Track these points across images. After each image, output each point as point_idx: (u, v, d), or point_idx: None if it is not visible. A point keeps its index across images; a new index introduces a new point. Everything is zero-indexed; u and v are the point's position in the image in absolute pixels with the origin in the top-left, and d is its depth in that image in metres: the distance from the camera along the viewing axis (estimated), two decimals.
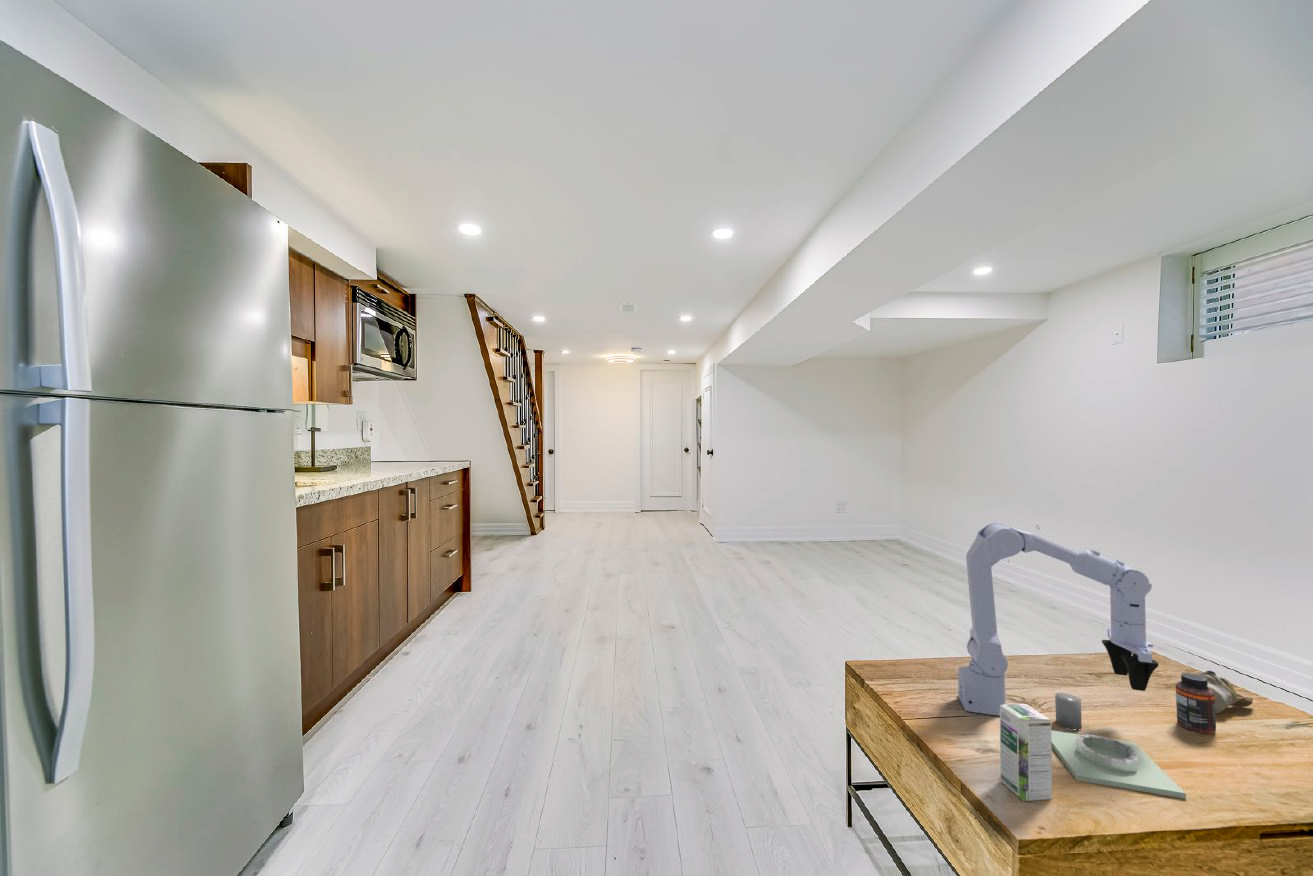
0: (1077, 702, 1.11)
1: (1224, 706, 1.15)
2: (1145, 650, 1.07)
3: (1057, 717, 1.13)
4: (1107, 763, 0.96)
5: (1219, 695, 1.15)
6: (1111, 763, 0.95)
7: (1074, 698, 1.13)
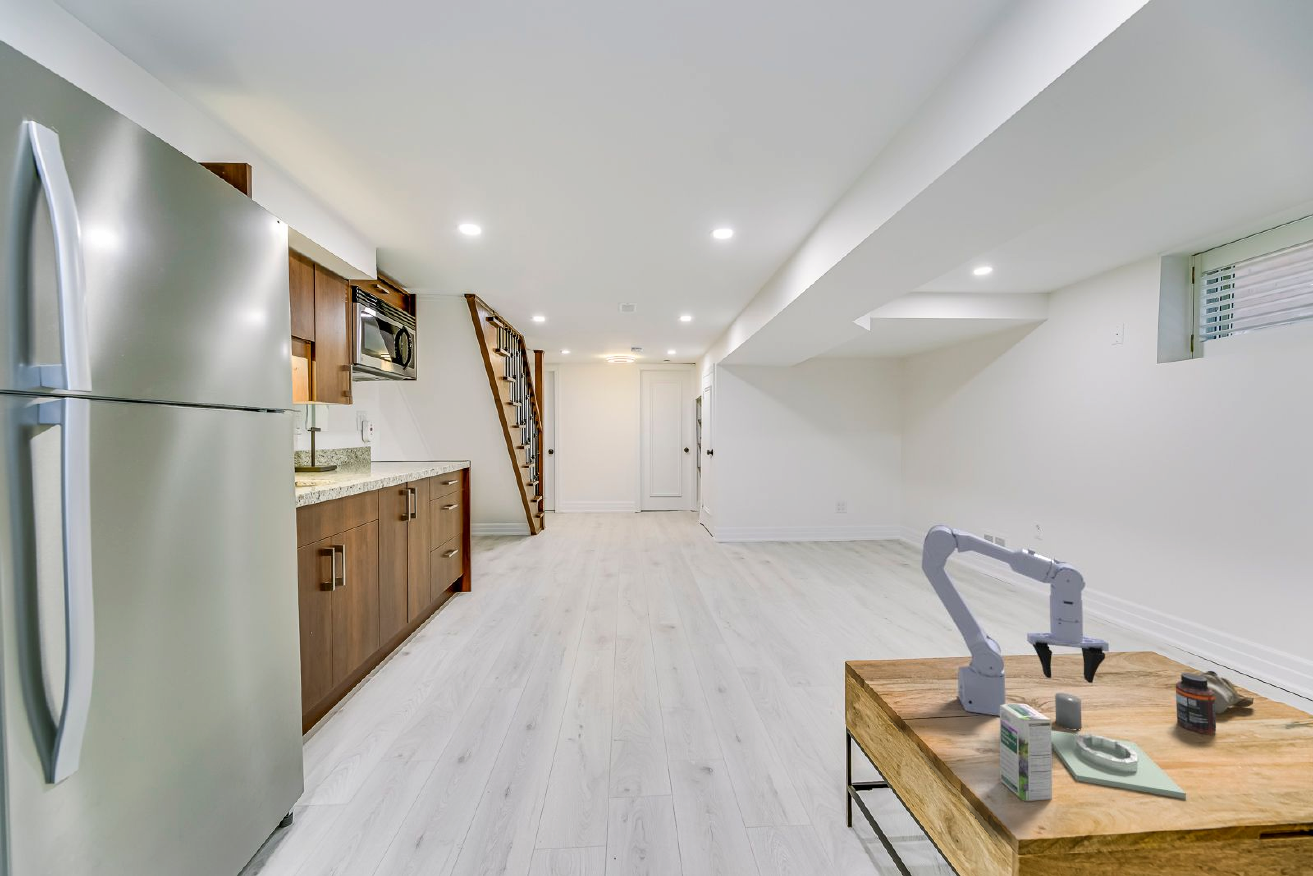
0: (1077, 702, 1.11)
1: (1226, 706, 1.15)
2: (1043, 637, 1.14)
3: (1057, 717, 1.13)
4: (1107, 763, 0.96)
5: (1221, 695, 1.15)
6: (1111, 763, 0.95)
7: (1074, 698, 1.13)
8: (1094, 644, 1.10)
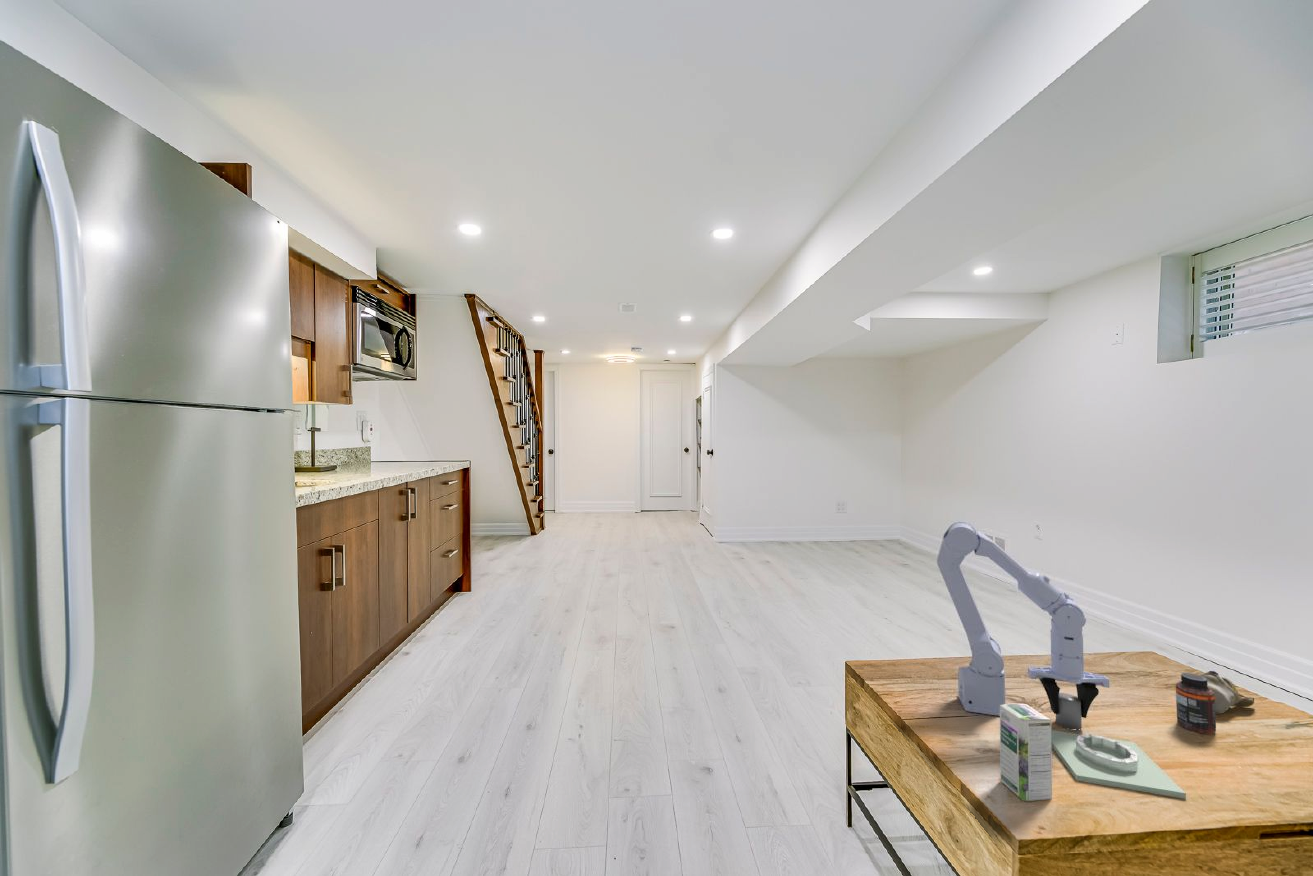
0: (1077, 702, 1.11)
1: (1227, 706, 1.15)
2: (1044, 672, 1.14)
3: (1057, 717, 1.13)
4: (1107, 763, 0.96)
5: (1222, 696, 1.15)
6: (1111, 763, 0.95)
7: (1074, 698, 1.13)
8: (1095, 680, 1.10)
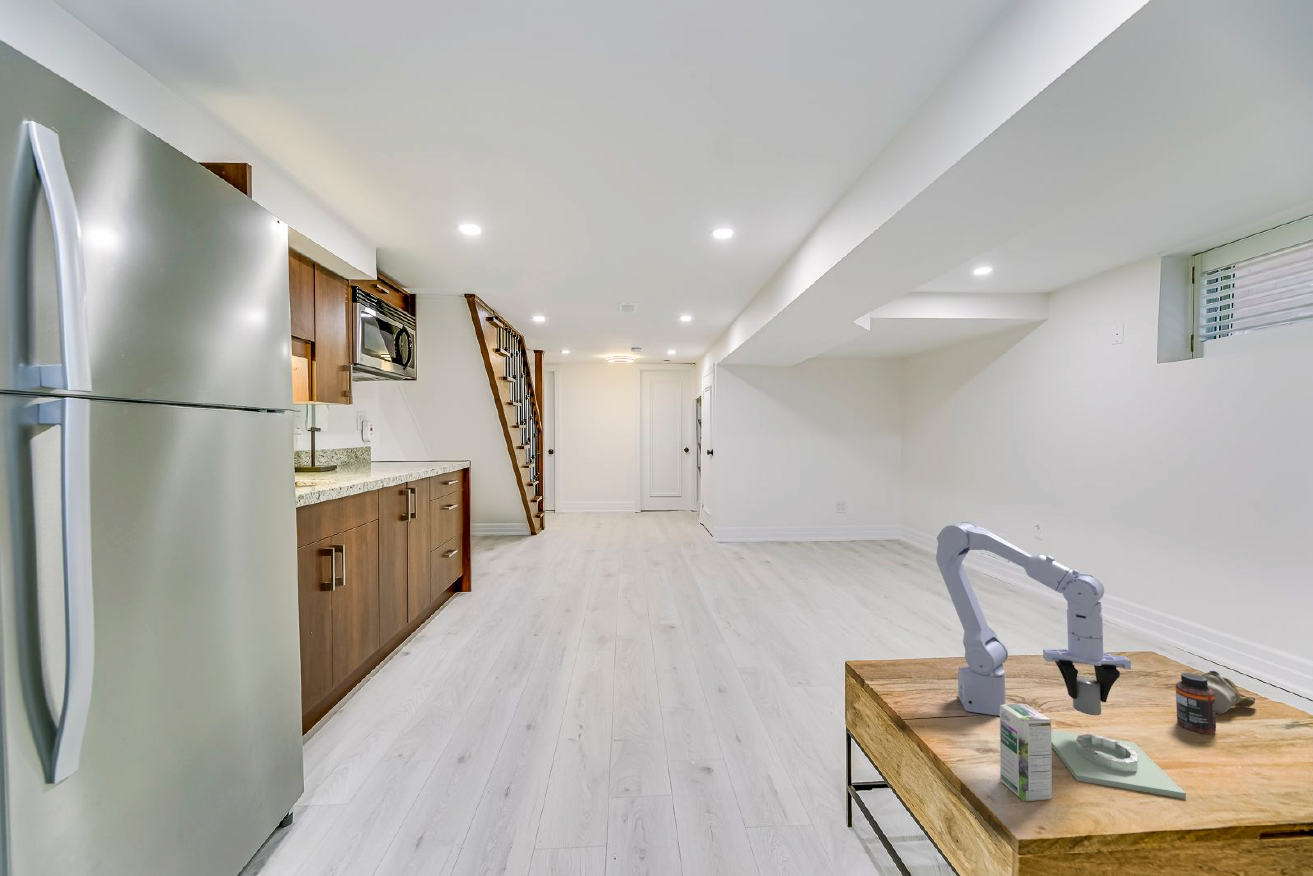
0: (1097, 685, 1.04)
1: (1229, 706, 1.15)
2: (1060, 654, 1.07)
3: (1075, 702, 1.06)
4: (1107, 763, 0.96)
5: (1224, 696, 1.15)
6: (1111, 763, 0.95)
7: (1093, 681, 1.06)
8: (1115, 662, 1.03)
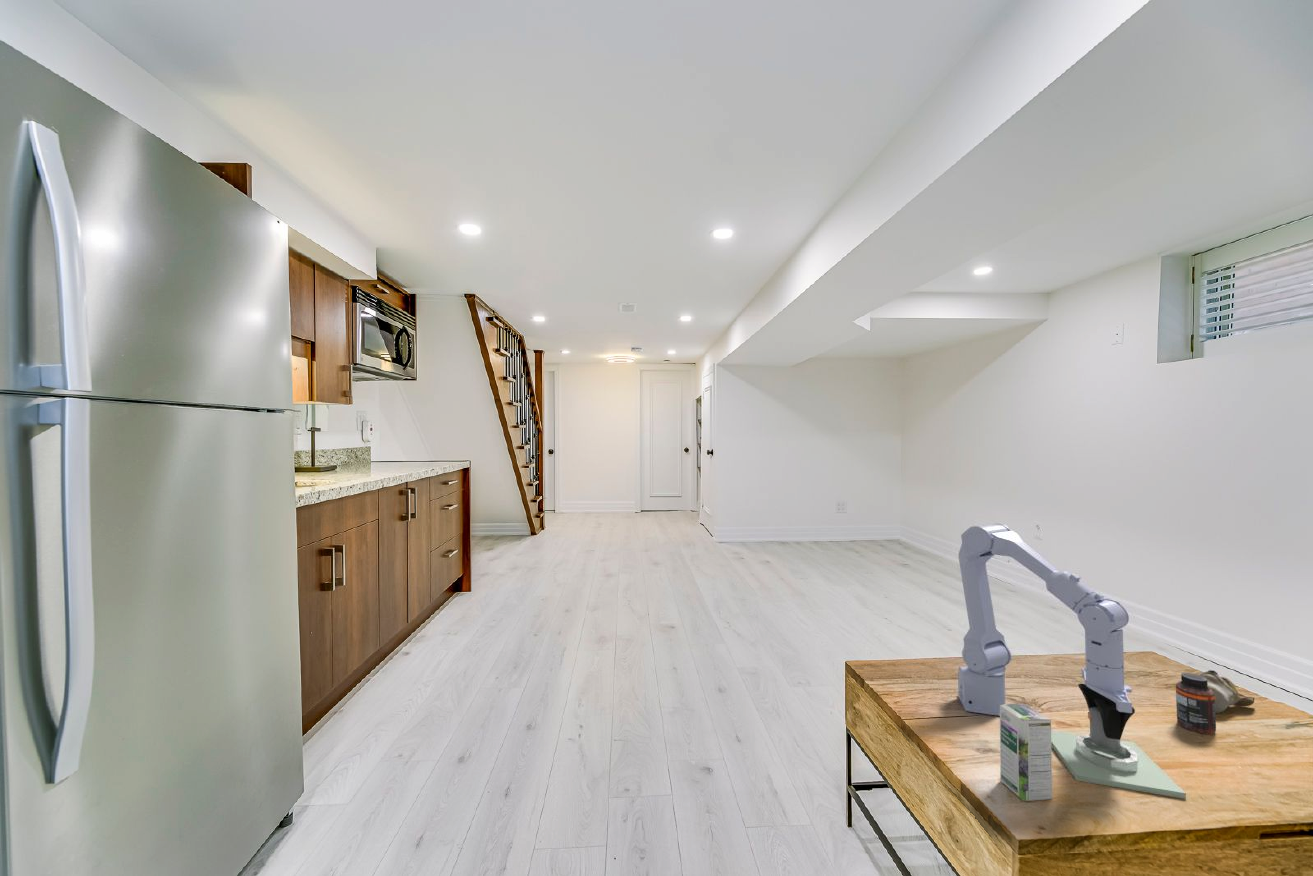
0: None
1: (1226, 705, 1.15)
2: (1124, 697, 0.95)
3: (1113, 742, 0.97)
4: (1107, 763, 0.96)
5: (1221, 695, 1.15)
6: (1111, 763, 0.95)
7: None
8: None
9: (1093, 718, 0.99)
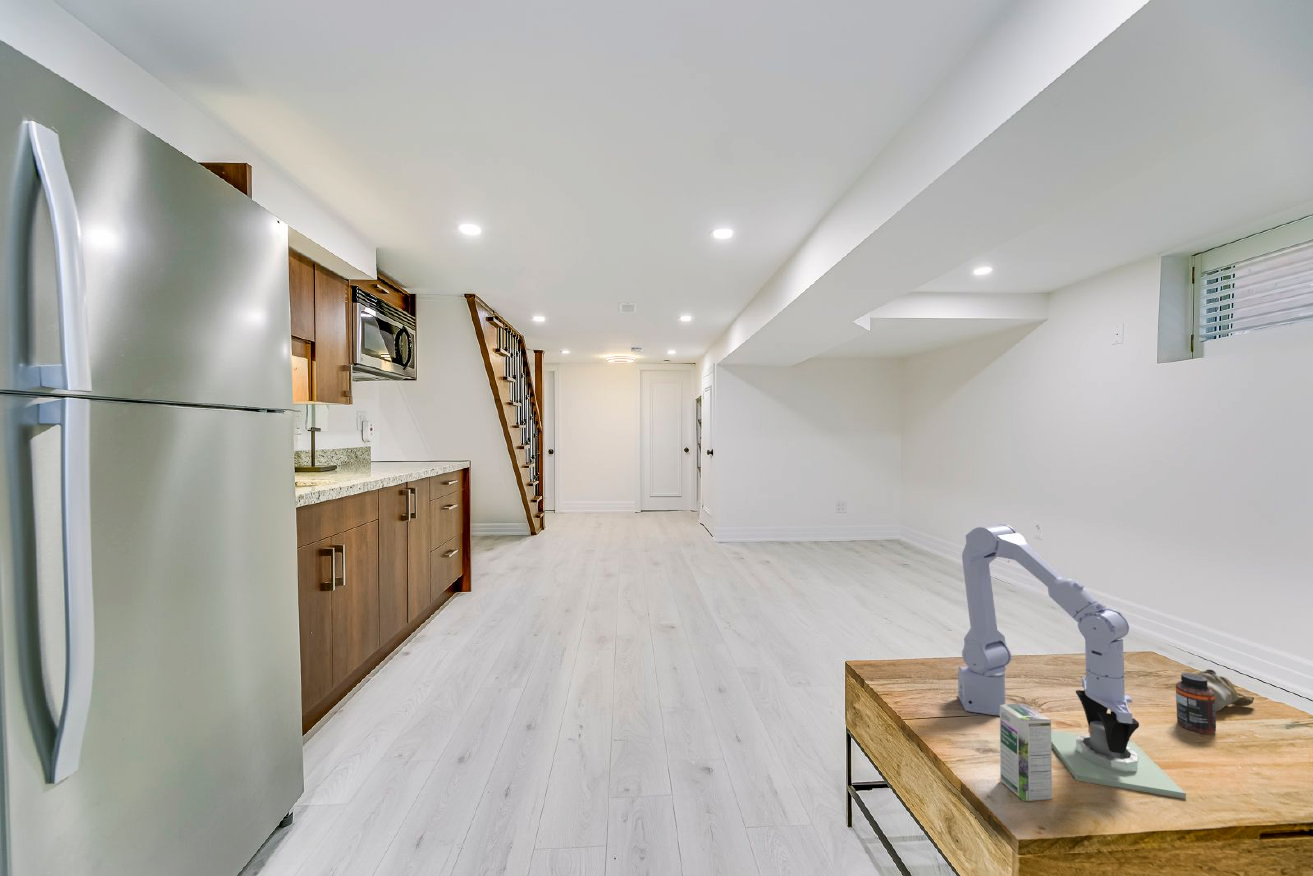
0: None
1: (1223, 704, 1.16)
2: (1124, 707, 0.95)
3: (1114, 757, 0.97)
4: (1107, 763, 0.96)
5: (1218, 694, 1.16)
6: (1111, 763, 0.95)
7: (1100, 723, 1.01)
8: None
9: (1093, 733, 0.99)
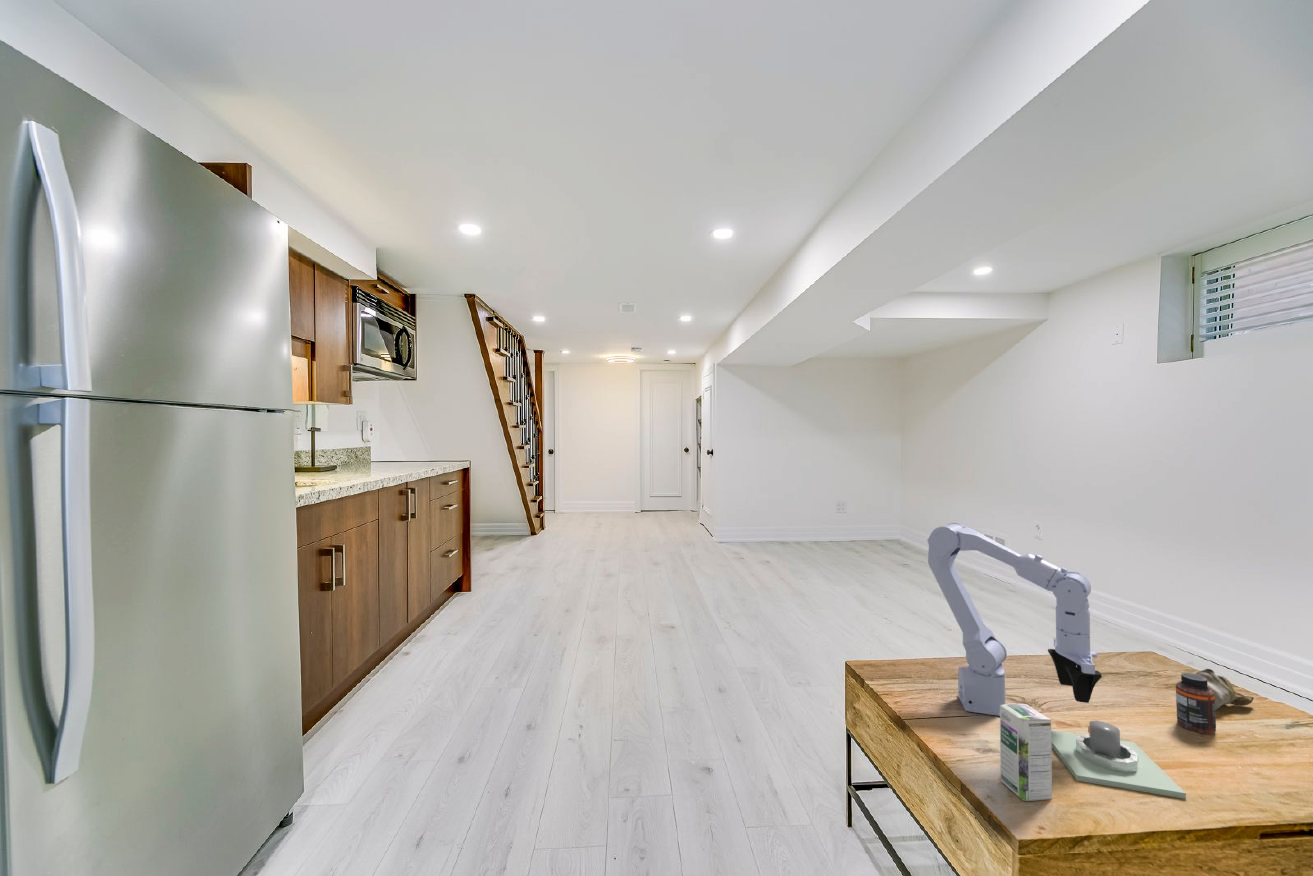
0: (1112, 725, 1.00)
1: (1220, 703, 1.16)
2: (1088, 660, 1.04)
3: (1114, 756, 0.97)
4: (1107, 763, 0.96)
5: (1215, 693, 1.16)
6: (1111, 763, 0.95)
7: (1100, 723, 1.01)
8: None
9: (1093, 732, 0.99)
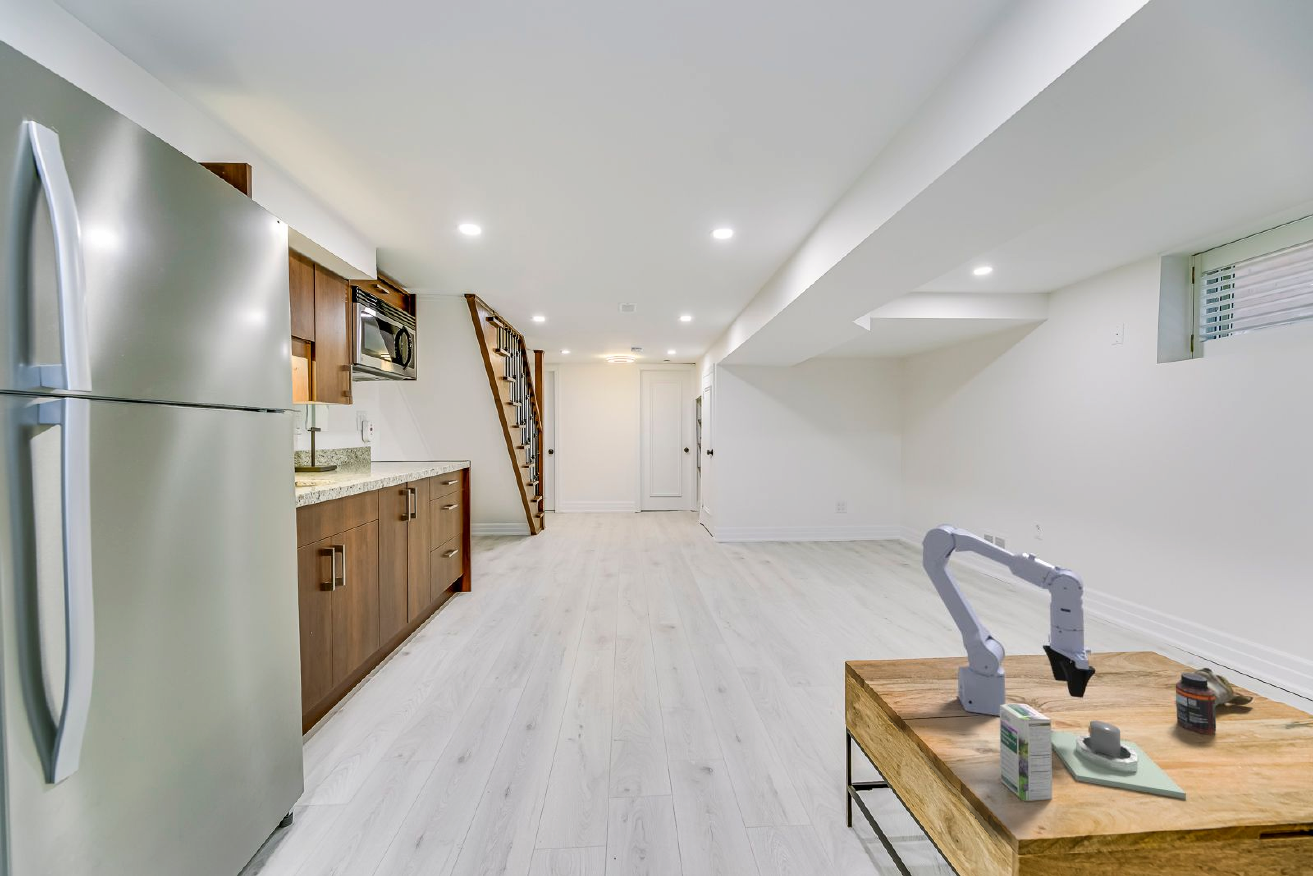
0: None
1: (1216, 702, 1.17)
2: (1082, 656, 1.06)
3: (1114, 756, 0.97)
4: (1107, 763, 0.96)
5: None
6: (1111, 763, 0.95)
7: (1100, 723, 1.01)
8: None
9: (1094, 732, 0.99)
